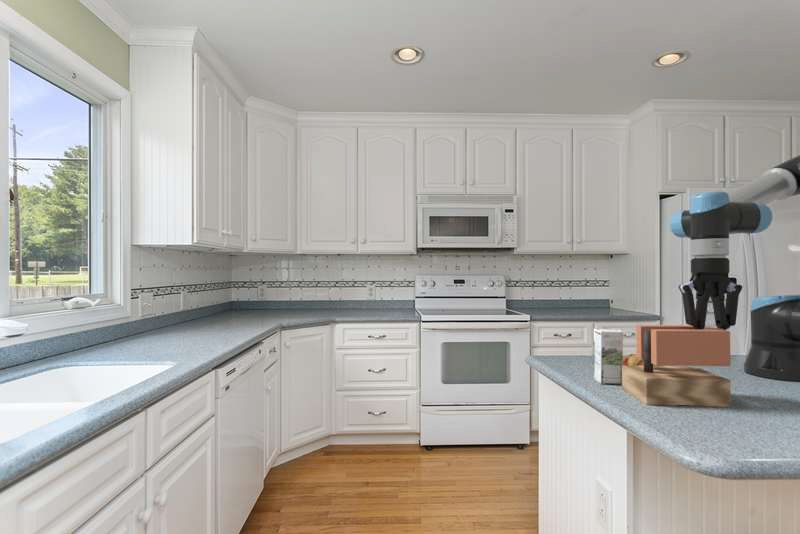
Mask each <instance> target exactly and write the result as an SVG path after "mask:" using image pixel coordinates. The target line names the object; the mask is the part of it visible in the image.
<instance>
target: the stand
mask: <svg viewBox="0 0 800 534" xmlns="http://www.w3.org/2000/svg"><path fill="white" fill-rule="evenodd" d="M731 386H732V384H731V379H729V378H727V377H723V376H722V375H718V374H715V373H714V372H710V371H707V370H705V369H703V368H700V367H698V366H653V364H652V363H651V330H644V366H625V365H622V384H621V389H622V390H623V391H625V392H626V393H627V394H629V395H631V396H633V397H634V398H635V399H637V400H638V401H640V402H642V403H643V404H644V405H646V406H647V405H648V406H653V405H654V406H677V405H690V406H689V407H692V406H693V407H716V406H718V407H723V408H725V407H726V408H731V406H732V405H731V403H732V402H731V401H732V400H731V399H732V398H731V397H732V396H731V388H732V387H731ZM718 407H717V408H718Z"/></svg>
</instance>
